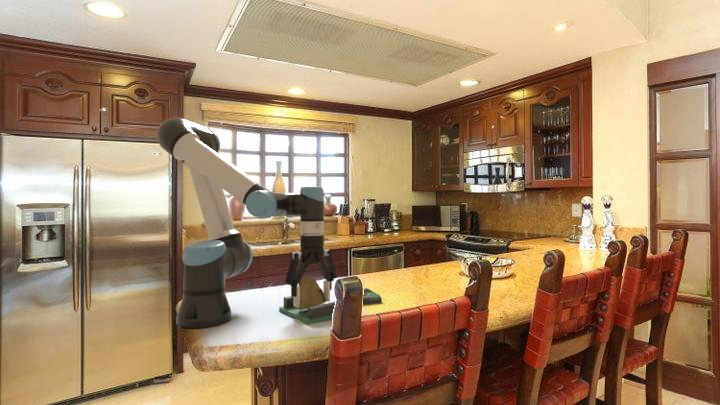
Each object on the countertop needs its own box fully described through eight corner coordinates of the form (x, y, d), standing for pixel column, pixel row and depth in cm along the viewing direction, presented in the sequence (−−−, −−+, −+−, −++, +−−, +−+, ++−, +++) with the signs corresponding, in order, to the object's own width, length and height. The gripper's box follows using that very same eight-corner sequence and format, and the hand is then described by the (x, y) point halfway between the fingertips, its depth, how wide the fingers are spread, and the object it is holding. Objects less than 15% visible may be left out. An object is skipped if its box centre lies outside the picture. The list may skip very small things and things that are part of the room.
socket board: (308, 324, 106) (308, 306, 106) (279, 310, 120) (279, 295, 120) (346, 315, 115) (346, 298, 115) (315, 303, 129) (315, 288, 129)
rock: (324, 292, 125) (295, 290, 123) (330, 275, 121) (300, 272, 118) (326, 319, 117) (295, 317, 114) (333, 301, 112) (301, 299, 109)
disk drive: (342, 297, 141) (355, 306, 127) (342, 289, 141) (355, 298, 127) (367, 295, 144) (382, 303, 130) (367, 287, 144) (382, 295, 131)
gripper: (285, 237, 108) (285, 312, 107) (347, 233, 122) (347, 300, 122) (273, 235, 113) (273, 307, 113) (334, 232, 128) (334, 295, 128)
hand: (312, 303), depth 117 cm, fingers closed on rock, 10 cm apart
